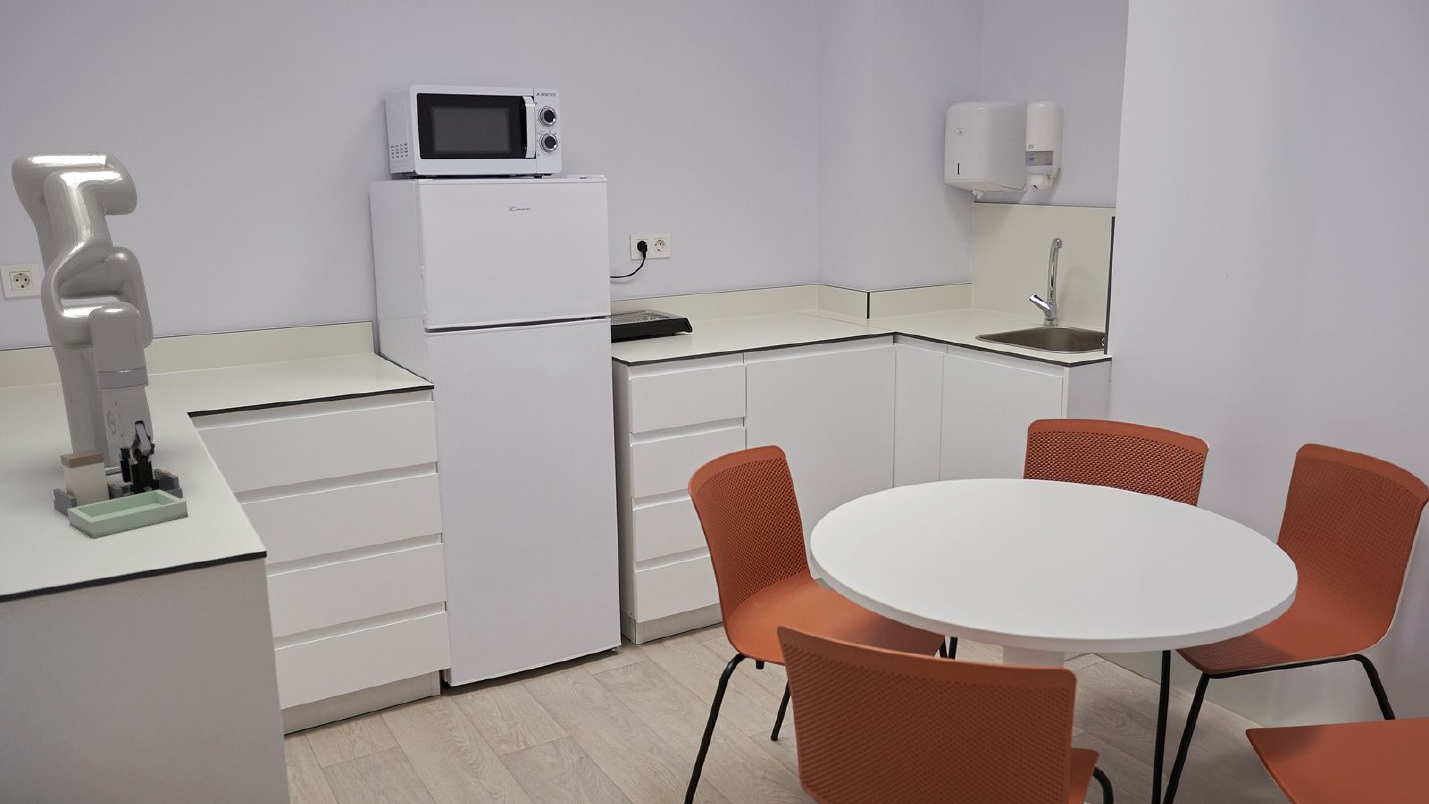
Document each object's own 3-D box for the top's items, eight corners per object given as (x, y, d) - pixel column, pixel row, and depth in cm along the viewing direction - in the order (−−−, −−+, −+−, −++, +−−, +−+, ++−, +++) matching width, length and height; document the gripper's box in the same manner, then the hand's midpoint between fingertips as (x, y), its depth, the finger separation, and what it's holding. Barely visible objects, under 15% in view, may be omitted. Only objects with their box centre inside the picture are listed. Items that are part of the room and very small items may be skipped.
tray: (69, 523, 176) (67, 508, 175) (161, 503, 186) (159, 489, 185) (93, 538, 168) (90, 522, 167) (188, 516, 177) (186, 501, 177)
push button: (137, 504, 186) (129, 447, 184) (113, 502, 188) (105, 445, 186) (168, 493, 192) (161, 438, 190) (144, 491, 194) (137, 436, 192)
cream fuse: (69, 510, 184) (60, 455, 182) (102, 503, 188) (93, 449, 186) (77, 515, 181) (68, 459, 179) (111, 508, 184) (102, 453, 183)
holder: (54, 508, 186) (51, 486, 185) (158, 486, 197) (155, 466, 197) (75, 520, 178) (72, 498, 177) (183, 497, 189) (180, 476, 188)
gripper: (83, 378, 189) (99, 480, 193) (115, 387, 177) (132, 496, 181) (130, 371, 194) (144, 471, 198) (164, 380, 182) (179, 486, 186)
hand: (138, 482), depth 189 cm, fingers closed on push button, 4 cm apart
